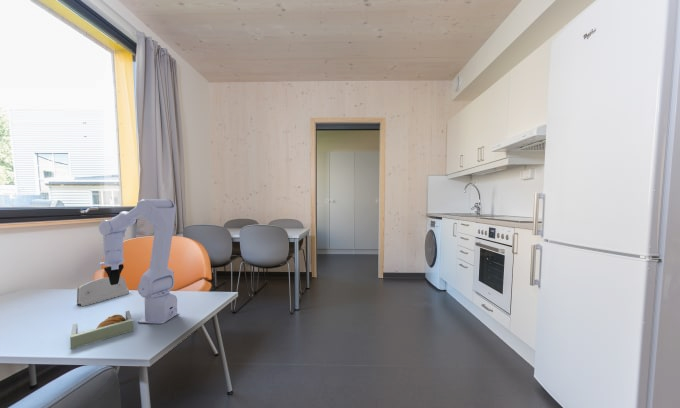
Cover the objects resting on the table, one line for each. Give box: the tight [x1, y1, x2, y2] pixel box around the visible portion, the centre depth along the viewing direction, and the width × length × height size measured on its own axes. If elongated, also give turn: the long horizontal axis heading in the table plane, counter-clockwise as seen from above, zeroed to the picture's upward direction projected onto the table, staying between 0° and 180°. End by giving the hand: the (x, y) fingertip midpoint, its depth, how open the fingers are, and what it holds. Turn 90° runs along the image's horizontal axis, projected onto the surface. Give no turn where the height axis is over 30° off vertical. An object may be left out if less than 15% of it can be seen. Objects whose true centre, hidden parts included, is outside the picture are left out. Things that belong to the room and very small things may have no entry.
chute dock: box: [69, 310, 134, 350], centre depth 80 cm, size 12×14×4 cm
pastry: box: [95, 314, 126, 329], centre depth 81 cm, size 9×7×4 cm
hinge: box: [76, 276, 130, 307], centre depth 109 cm, size 17×5×10 cm, turn 153°
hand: (114, 284), depth 96 cm, fingers closed
